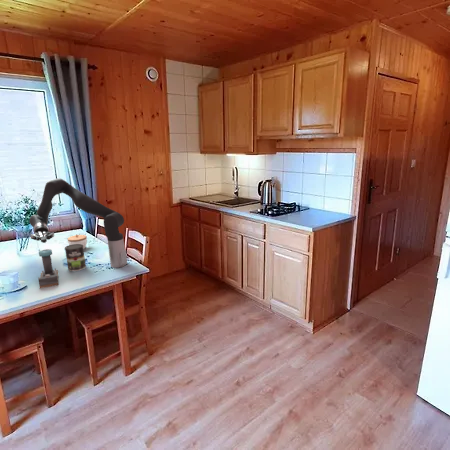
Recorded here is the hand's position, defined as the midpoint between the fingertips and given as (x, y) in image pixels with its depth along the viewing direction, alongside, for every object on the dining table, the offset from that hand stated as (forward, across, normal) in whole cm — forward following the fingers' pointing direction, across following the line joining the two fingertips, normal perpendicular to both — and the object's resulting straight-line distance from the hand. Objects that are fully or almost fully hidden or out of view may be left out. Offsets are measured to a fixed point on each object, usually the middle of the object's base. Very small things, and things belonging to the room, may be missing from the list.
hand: (44, 241), depth 185 cm
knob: (+7, -1, -18) cm, 19 cm away
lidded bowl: (-34, -24, -24) cm, 48 cm away
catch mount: (+12, -1, -19) cm, 22 cm away
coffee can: (+3, -17, -19) cm, 26 cm away
